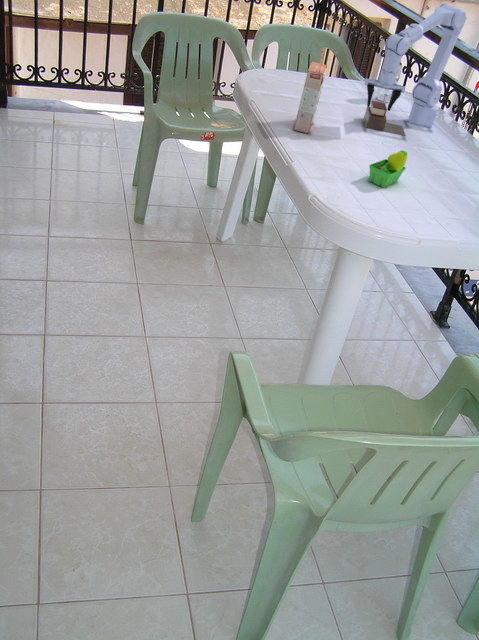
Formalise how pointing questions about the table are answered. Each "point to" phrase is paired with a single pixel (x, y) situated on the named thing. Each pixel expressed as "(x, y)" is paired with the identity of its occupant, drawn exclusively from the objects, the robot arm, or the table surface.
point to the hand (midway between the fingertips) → (378, 108)
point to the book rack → (381, 124)
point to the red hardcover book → (378, 108)
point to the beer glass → (386, 93)
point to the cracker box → (310, 97)
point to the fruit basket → (388, 169)
